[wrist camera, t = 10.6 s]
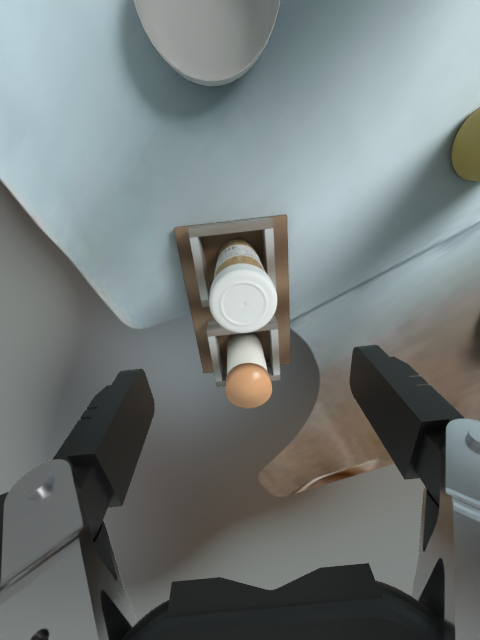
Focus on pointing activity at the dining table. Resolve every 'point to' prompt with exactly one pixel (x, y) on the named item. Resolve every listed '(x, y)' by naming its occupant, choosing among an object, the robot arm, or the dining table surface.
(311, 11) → the dining table surface
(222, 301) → the sprinkles bottle
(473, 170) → the paper tube
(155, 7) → the small pan
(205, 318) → the board
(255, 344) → the white lotion bottle
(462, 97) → the dining table surface
